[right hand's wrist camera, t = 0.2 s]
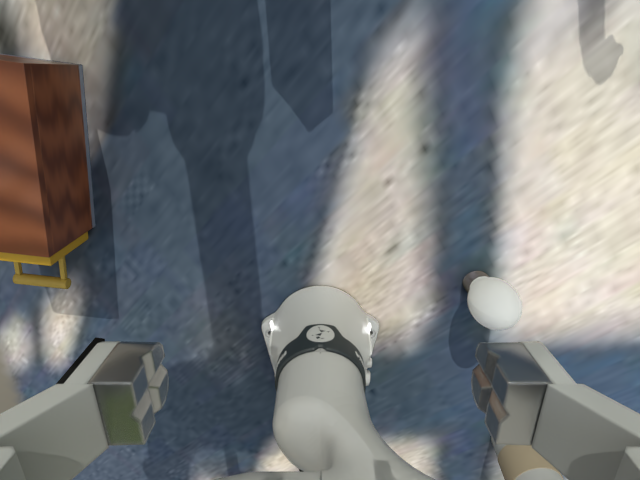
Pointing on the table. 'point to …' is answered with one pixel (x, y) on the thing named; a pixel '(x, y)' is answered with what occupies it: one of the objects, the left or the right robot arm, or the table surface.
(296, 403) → the right robot arm
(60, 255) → the yellow drawer
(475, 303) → the light bulb
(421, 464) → the table surface
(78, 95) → the cabinet
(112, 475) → the table surface
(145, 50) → the table surface
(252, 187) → the table surface
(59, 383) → the left robot arm
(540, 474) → the coffee cup
